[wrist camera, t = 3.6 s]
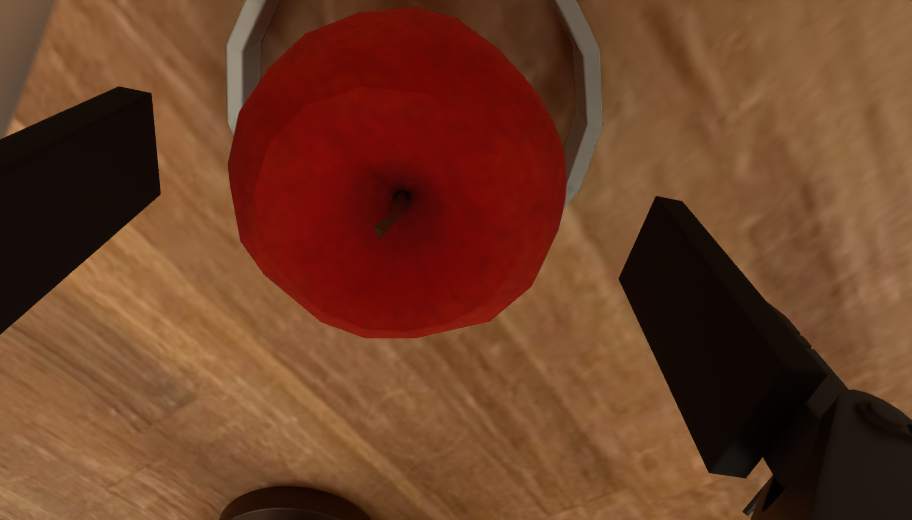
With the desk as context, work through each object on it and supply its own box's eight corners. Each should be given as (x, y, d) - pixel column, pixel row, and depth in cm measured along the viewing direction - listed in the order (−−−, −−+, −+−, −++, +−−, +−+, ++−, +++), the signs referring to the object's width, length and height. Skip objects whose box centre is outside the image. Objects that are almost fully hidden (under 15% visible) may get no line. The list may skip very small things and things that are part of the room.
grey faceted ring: (244, 224, 24) (228, 246, 22) (245, -144, 17) (222, -154, 15) (533, 276, 25) (539, 300, 24) (644, -43, 18) (663, -41, 17)
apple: (568, 43, 20) (667, 135, 11) (478, 232, 24) (493, 417, 15) (339, -58, 18) (219, -52, 9) (286, 166, 22) (168, 327, 13)
